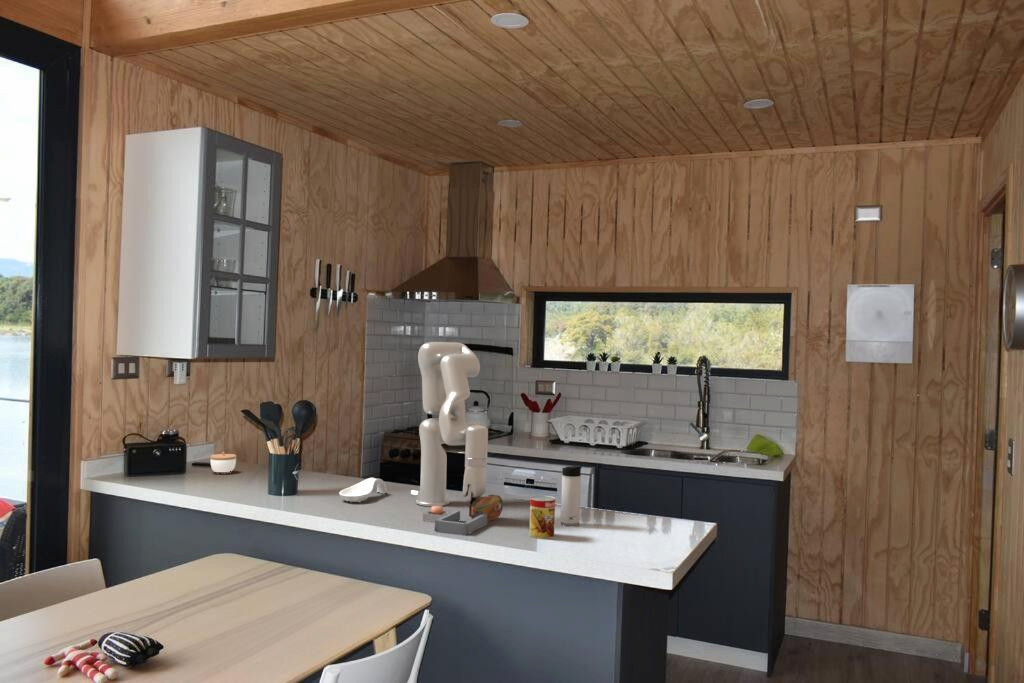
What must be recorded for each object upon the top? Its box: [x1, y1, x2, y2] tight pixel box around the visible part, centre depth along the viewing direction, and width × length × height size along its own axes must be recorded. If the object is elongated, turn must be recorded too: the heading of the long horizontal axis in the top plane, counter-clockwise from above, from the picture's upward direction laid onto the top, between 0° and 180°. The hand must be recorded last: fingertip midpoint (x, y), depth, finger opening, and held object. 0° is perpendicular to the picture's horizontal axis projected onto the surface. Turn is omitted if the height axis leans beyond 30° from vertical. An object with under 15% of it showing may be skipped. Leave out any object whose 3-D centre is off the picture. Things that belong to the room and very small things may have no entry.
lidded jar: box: [209, 451, 237, 473], centre depth 352 cm, size 11×11×9 cm
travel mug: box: [560, 465, 583, 527], centre depth 272 cm, size 6×7×20 cm
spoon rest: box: [338, 477, 388, 503], centre depth 307 cm, size 24×12×7 cm, turn 155°
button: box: [430, 506, 444, 515], centre depth 274 cm, size 4×4×2 cm
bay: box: [434, 510, 488, 536], centre depth 264 cm, size 11×17×4 cm, turn 160°
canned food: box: [529, 495, 556, 540], centre depth 256 cm, size 8×8×12 cm
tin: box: [470, 494, 504, 522], centre depth 274 cm, size 15×3×8 cm, turn 144°
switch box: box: [422, 509, 452, 523], centre depth 274 cm, size 7×7×2 cm
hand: (474, 516), depth 274 cm, fingers closed
